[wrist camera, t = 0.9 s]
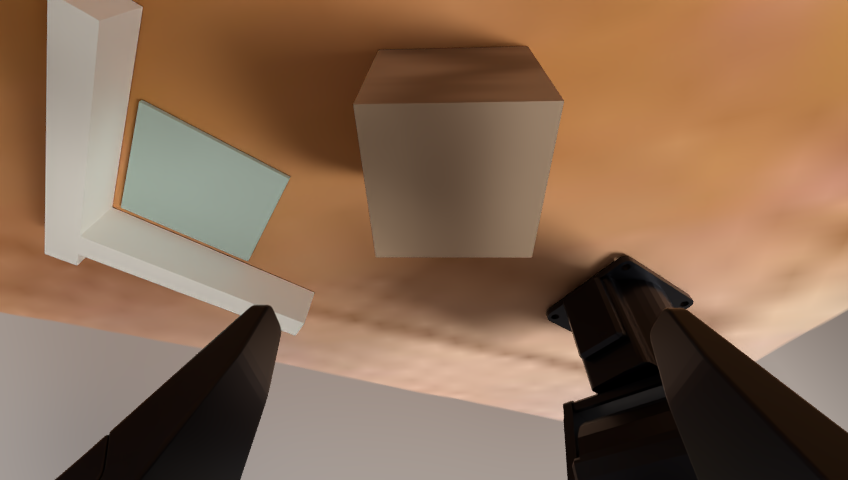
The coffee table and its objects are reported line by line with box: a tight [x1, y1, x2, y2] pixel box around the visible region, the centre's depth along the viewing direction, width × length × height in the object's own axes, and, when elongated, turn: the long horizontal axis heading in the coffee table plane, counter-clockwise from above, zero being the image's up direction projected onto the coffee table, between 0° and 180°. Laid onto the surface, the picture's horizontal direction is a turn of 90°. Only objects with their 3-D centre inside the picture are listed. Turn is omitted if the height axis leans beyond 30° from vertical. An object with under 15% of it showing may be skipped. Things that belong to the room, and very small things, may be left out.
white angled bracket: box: [45, 0, 314, 335], centre depth 20 cm, size 14×14×2 cm
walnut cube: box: [353, 46, 564, 258], centre depth 15 cm, size 6×6×6 cm
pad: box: [121, 100, 290, 261], centre depth 20 cm, size 7×7×1 cm
